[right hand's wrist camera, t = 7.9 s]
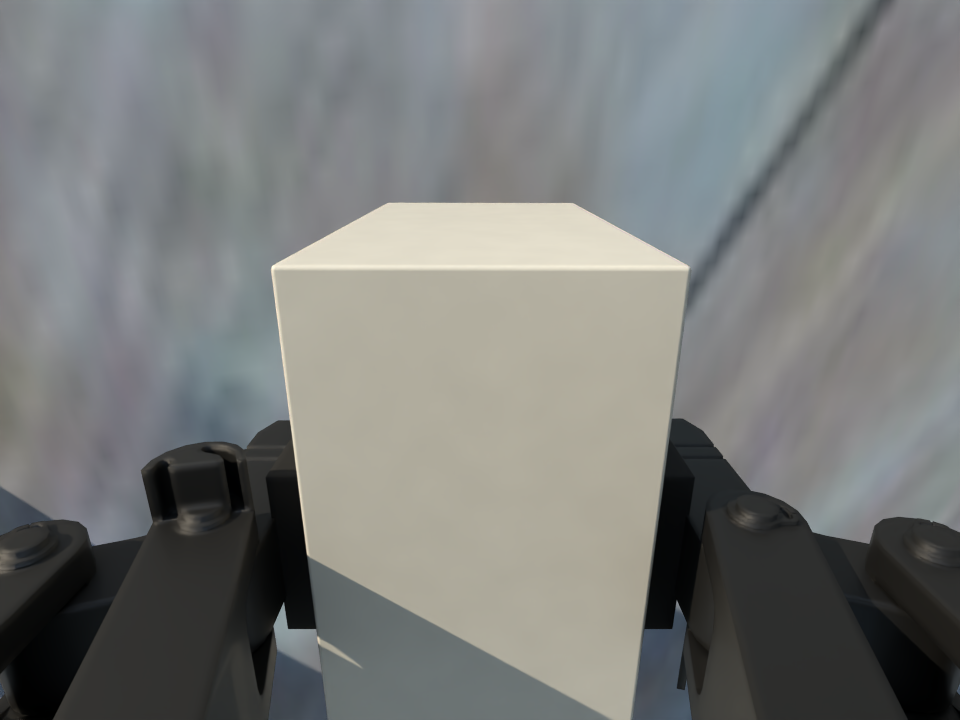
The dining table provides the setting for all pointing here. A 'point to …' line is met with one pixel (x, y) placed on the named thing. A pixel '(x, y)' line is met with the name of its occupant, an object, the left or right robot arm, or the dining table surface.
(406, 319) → the bar
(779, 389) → the dining table surface
